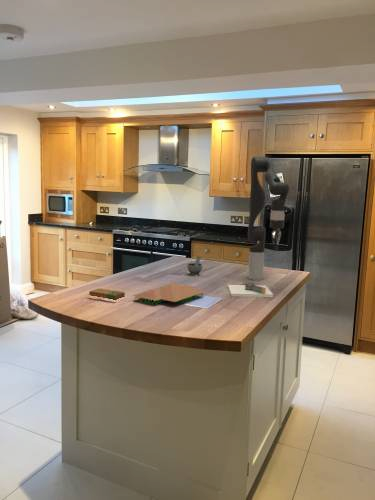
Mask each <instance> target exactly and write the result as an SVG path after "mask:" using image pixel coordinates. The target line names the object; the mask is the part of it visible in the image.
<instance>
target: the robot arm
mask: <svg viewBox="0 0 375 500" xmlns="http://www.w3.org/2000/svg"><path fill="white" fill-rule="evenodd" d="M258 173H265V174H264V181H265V183H266V184H267V186H268V192H269V193H270V195H272V196H279V197H278V198H275V199H273V200H271V204H270V205H271V207H270V208H271V209H270V215H269V216H270V217H269V218H270V219H269V228H271V229H273V230H272V231H271V233H272V234H271V241H272V244H273V251H278V250H279V243H280V240H281V237H282V231H281V229H284V228H285V204H286V201H287V197H288V195H289V190H290V185H289V183H288V182H284V181H282V182H281V179H280V177H279V176H278V174H277V173H276V172H275V169H274V167H273V163H272V161H271V159H270V158H269V157H267V156H253V157H252V158H251V160H250V192H249V193H250V194H249V219H248V227H247V228H248V229H247V239H248V241H253V242H258V243H257V244H254V245H251V246H249V253H248V277H247V278H248V279H249V280H252V281H253V280H254V281H261V280H263V279H264V264H265V262H264V261H265V246H266V245H265V244H266V243H265V242H266V234H267V233H266V232H267V231H266V227H265V226H262V225H255V222H256V219H257V218H258V216H259V215H260V213H261V212H262V211H263V209H264V208H265V205H266V192H265V191H264V188H263V186H262V185H261V183H260V180H259V177H258Z"/></svg>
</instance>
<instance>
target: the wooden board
mask: <svg viewBox="0 0 375 500" xmlns="http://www.w3.org/2000/svg"><path fill="white" fill-rule="evenodd" d="M203 293H205V291H203V290H201V289H197V288H196V286H193V285H188V284H186V283H181V284H179V283H176V282H172V283H170V284H166V285H164V286H163V285H162V286H159V287H156V288H153V289H149V290H146V291H143V292H140V293H137V294H133V295H132V296H133V297H134V300H136V299H137V300H138V299H140V298H142V299H141V302H142V301H144V303H145V302H147V303H148V302H150V301H151V302H150V304H151V303H152V304H153V302H156V301H157V302H156V304H158V303H160V304H161V302H163V303H164V302H165V301H166V302H171V303H174V302H175V303H177V304H180V301H181V303H184V302H187V301H192V297H195V296H196V300H197V299H200V297H201V298H203V295H204V294H203ZM147 299H148V300H147ZM152 300H153V302H152Z"/></svg>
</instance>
